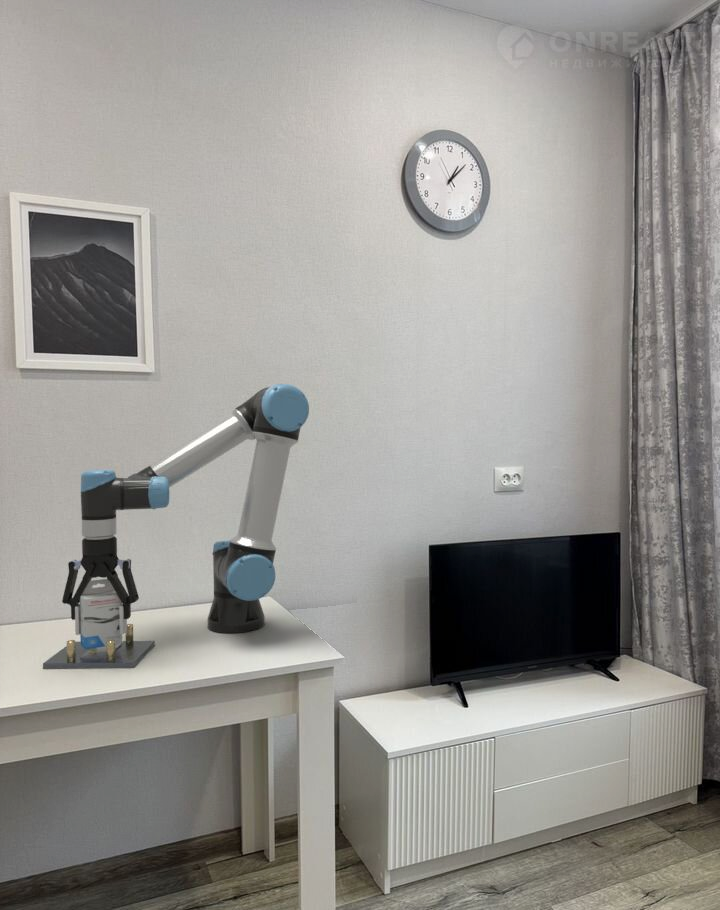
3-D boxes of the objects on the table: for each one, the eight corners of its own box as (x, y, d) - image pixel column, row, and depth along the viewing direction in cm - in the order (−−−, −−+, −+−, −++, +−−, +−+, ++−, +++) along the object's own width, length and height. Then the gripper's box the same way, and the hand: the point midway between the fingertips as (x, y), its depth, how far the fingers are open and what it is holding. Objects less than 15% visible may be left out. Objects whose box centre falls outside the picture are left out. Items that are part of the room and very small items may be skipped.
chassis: (154, 645, 169) (154, 622, 168) (134, 667, 153) (133, 642, 152) (72, 646, 168) (71, 623, 168) (43, 668, 152) (42, 643, 152)
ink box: (84, 650, 156) (83, 585, 156) (80, 644, 160) (78, 581, 160) (123, 643, 161) (122, 580, 160) (117, 638, 165) (116, 577, 164)
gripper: (152, 533, 164) (154, 627, 164) (58, 534, 163) (60, 629, 164) (142, 538, 156) (144, 637, 157) (44, 539, 156) (46, 638, 157)
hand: (101, 632), depth 160 cm, fingers closed on ink box, 9 cm apart
